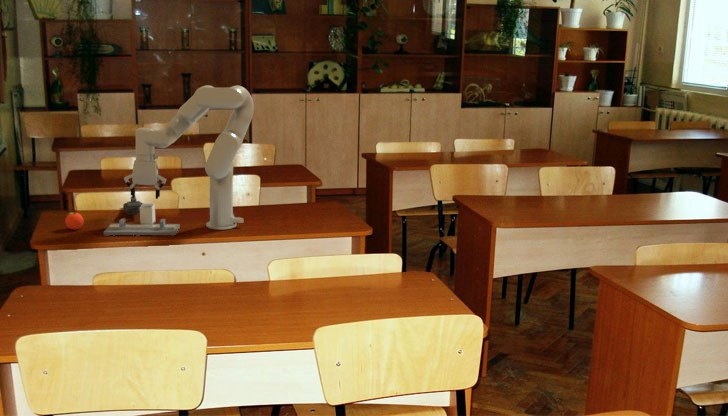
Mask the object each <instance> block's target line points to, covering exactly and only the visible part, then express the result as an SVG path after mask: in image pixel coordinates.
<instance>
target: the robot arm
mask: <svg viewBox="0 0 728 416" xmlns="http://www.w3.org/2000/svg"><path fill="white" fill-rule="evenodd" d="M210 109H213V110H214V109H215V110H216V109H217V110H218V109H219V110H221V109H222V110H223V109H224V110H232V112H231V114H230V116H229V118H228V121H227V123H226V126H225V128H224V130H223V131H222V132H220V134H219V135H218V136H217V138H216V139H215V140H214V141H215V142H214V143H213V146H212V149H211V150H210V152H209V155H208V158H207V159H206V162H205V166H204V169H205V173H206V174H207V176H208V177H209V221H207V222H206V223H205V224H206V228H208V229H211V230H222V231H223V230H230V229H235V228H236V227H237V223H239V224H241V223H242V224H243V223H244V218H243V217H241V216H240V217H239V216H238V217H236V216H235V214H234V211H233V209H234V207H233V206H234V205H233V204H234V202H233V201H234V198H233V193H234V192H233V190H234V189H233V186H234V185H233V181H234V159H235V157H236V156H237V153H238V151H239V150H240V148H241V146H242V145H243V142H244V138H245V136H246V133H247V131H248V129H249V127H250V124H251V123H252V122H251V121H252V119H253V116H254V111H255V105H254V100H253V97H252V95H251V94H250V92H249V91H248V90H247V88H245V87H243V86H241V85H233V86H230V87H214V86H213V85H209V84H208V85H203V86H201V87H198V88H196V90H195V91H194V94H193V95H192V96H191V97H190V98H188V100H187V101H186V102H184V103H183V104H182V105H181V106H180V107H179V109H178V110H177V112H176V115H174V116H173V118H172V119H170V121H168V122H167V123H166V124H165V125H164V126H163V127H162V128H159V129H155V130H154V129H153V128H151V127H139V128H136V130H135V159H134V160H133V165H132V173H130V174H129V175H126V176H124V177H123V180H124V182H125V184H126V185H127V187H129V190H130V197H132V198H134V197H136V187H135V186H136V185H139V186H140V185H141V186H154V188H155V200H158V199H159V197H160V196H161V189H162V188H163V187H164V186H165V184H166V182H167V178H165V177H164V176H161V175H160V174H159V167H158V161H157V160H158V159H159V155H157V154H156V152H155V148H160V149H165V148H168V147H169V146H171V145H172V144H174V143H175V142H176V141H177V140H178V139H179V138H180V137H181V136H182V135H183V134H184V133H186V132H187V130H188V129H190V127H192V126H193V125H195V124H196V123H197V122H198V121H199V120H200V119H201V118H202V117H203V116H204V115H205V114H206V113H207V112H208V111H209V110H210ZM129 179H131V180H132V183H131V182H130V181H129ZM159 180H160V181H161V183H159Z"/></svg>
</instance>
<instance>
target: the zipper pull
mask: <svg viewBox="0 0 728 416" xmlns="http://www.w3.org/2000/svg"><path fill="white" fill-rule="evenodd" d="M142 204H145V203H144V202H141V201H140V200H137V197H136V196H135V197H134V198H132V196H130V201H127V202H125V203H124V204H122V206H123V207H122V208H123V210H124V212H125V211H126V212H125V213H126V214H127V215H140V207H141V205H142Z"/></svg>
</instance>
